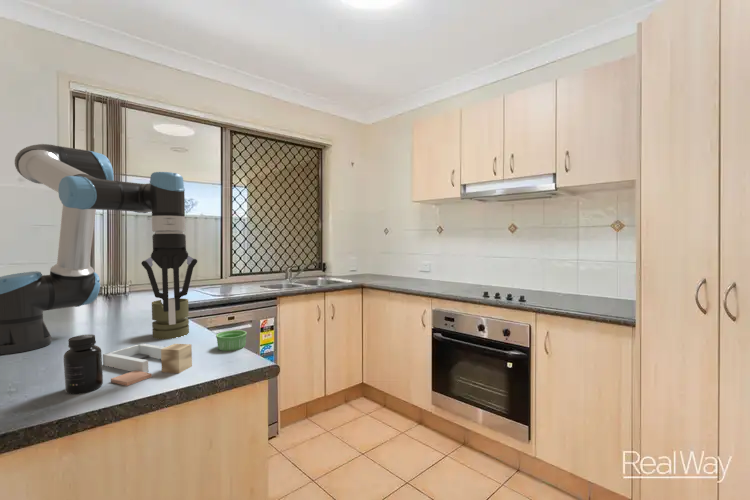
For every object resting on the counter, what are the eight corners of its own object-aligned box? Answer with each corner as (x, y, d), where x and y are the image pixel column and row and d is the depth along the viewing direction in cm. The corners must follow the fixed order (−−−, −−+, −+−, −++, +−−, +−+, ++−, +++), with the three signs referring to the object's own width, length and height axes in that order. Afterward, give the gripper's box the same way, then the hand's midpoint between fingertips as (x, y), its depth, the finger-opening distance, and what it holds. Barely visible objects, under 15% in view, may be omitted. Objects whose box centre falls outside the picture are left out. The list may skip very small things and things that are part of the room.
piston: (151, 300, 133) (187, 297, 138) (152, 333, 133) (188, 329, 139) (151, 305, 123) (189, 302, 129) (152, 341, 123) (190, 336, 129)
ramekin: (245, 342, 122) (245, 328, 122) (248, 349, 114) (248, 335, 114) (215, 345, 118) (215, 332, 118) (217, 353, 110) (216, 339, 110)
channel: (103, 365, 100) (102, 354, 100) (142, 353, 110) (142, 343, 110) (142, 373, 94) (142, 362, 94) (180, 360, 104) (180, 349, 104)
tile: (110, 382, 89) (110, 378, 89) (135, 373, 94) (135, 370, 94) (127, 385, 86) (127, 382, 86) (151, 376, 92) (151, 373, 92)
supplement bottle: (79, 383, 88) (77, 333, 88) (109, 382, 89) (107, 332, 88) (57, 395, 81) (54, 341, 81) (90, 394, 82) (88, 340, 81)
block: (161, 372, 95) (161, 349, 95) (175, 365, 100) (174, 343, 100) (179, 373, 94) (178, 350, 94) (192, 366, 99) (191, 344, 99)
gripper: (138, 233, 89) (142, 329, 90) (198, 232, 96) (201, 322, 97) (139, 233, 96) (143, 324, 97) (195, 233, 102) (198, 317, 103)
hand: (172, 323), depth 97 cm, fingers closed
